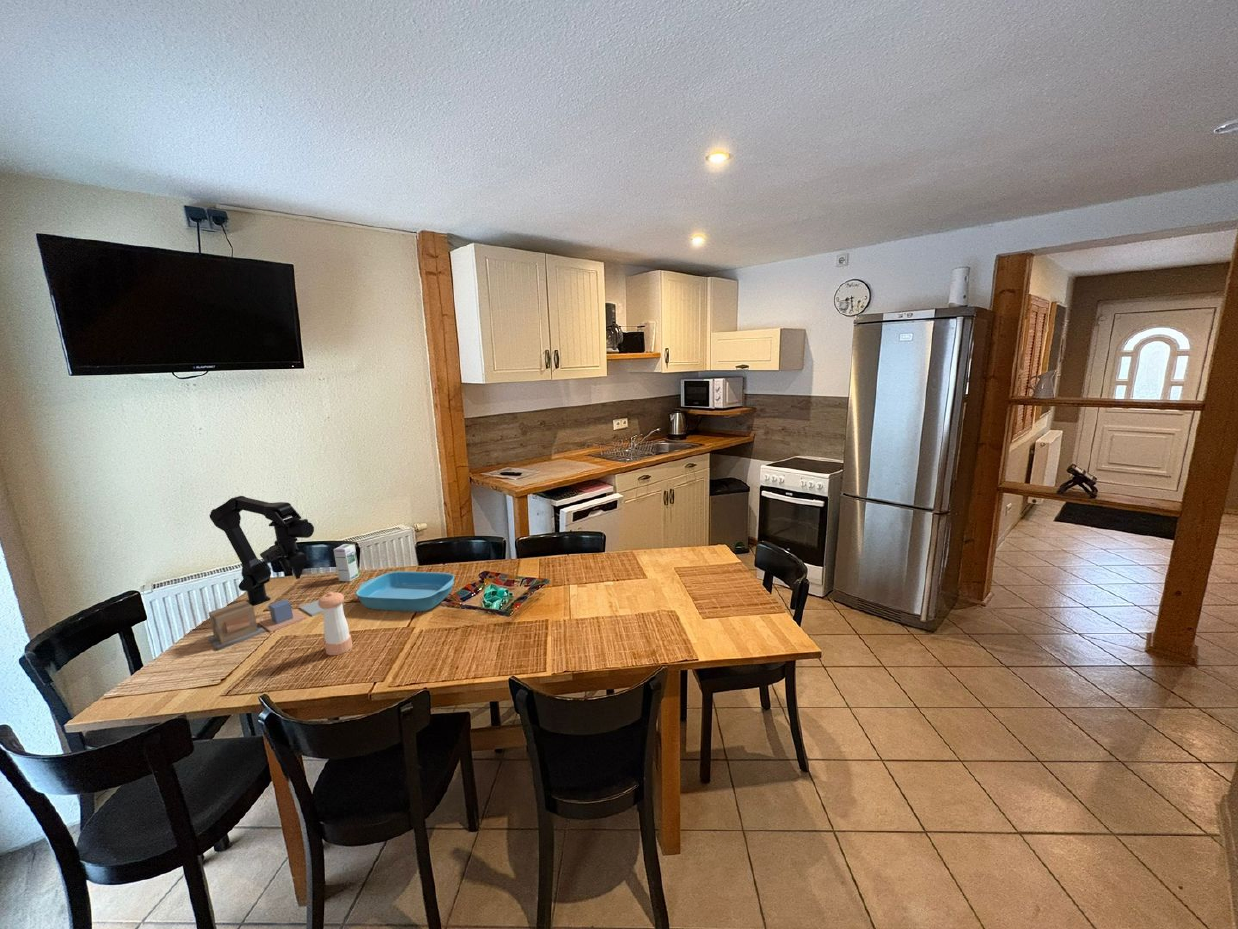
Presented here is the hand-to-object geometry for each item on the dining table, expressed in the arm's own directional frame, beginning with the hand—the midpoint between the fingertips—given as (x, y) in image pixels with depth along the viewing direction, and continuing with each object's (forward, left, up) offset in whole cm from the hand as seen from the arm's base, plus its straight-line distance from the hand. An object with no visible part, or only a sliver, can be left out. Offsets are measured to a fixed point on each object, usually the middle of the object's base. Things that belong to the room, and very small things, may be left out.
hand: (293, 576), depth 187 cm
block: (+11, -9, -10) cm, 18 cm away
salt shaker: (+48, -6, -11) cm, 50 cm away
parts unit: (+9, -22, -11) cm, 26 cm away
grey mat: (+11, +4, -11) cm, 16 cm away
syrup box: (-6, +22, -11) cm, 25 cm away
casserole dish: (+35, +25, -12) cm, 45 cm away
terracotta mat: (+11, -9, -11) cm, 18 cm away
